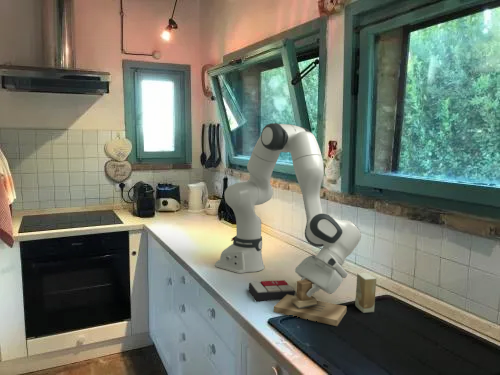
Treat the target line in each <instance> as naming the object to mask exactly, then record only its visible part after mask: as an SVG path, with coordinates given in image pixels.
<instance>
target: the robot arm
mask: <svg viewBox="0 0 500 375" xmlns="http://www.w3.org/2000/svg"><path fill="white" fill-rule="evenodd" d="M281 153H290V155H291V160H292V165H293V170H294V173H295V177H296V179H297V182H298V185H299V188H300V191H301V195H302V199H303V206H304V211H305V216H306V224H305V228H304V237H305V240H306V241H307V242H308V244H309V245H311V246H313V247H317V248H321V250H319V251H318V253H317V254H316V255H315V254H312V255H309V256H308V257H306V258H304V259H303V260H302V261H301V262H300V263H299V264H298V265H297V266H296V268H295V269H294V270H295V273H296V274H297V275H298V276H299V277H300V278H301V279H300V280H305V279H307V280H309V281H311V282H312V288H311V289H310V290H308V289H307V291H306V292H305V294H306V295H307V296H308V297H311V296H313V295H314V294H315V293H317V292H319V291H320V290H322V291H324V293H327V294H328V295H333V294H334V293H335V292H336V291H337V290H338V289H339V287H340V285H341V284H342V282H343V280H344V279H346V278H347V276H348V272H347V271H346V270H345V268H344V267H343V264H345V261H346V259H347V257H348V256H350V255H351V254H352V253H353V251H354V250H355V249H356V248H357V246H358V245H359V243H360V241H361V238H362V233H361V230H360V228H359V227H358V226H357V225H356V224H355V223H354V222H352V221H351V220H343V219H342V220H341V219H338V218H336V217H333V216H330V215H329V214H328V213H324V212H323V207H322V203H321V194H320V193H321V187H322V183H323V178H324V176H325V174H324V172H325V169H324V160H323V156H322V153H321V148H320V146H319V143H318V141H317V139H316V137H315V135H314V133H312V132H311V131H310V130H309V128H305V127H303V126H298V125H295V124H290V123H288V124H287V123H286V124H285V123H276V122H273V123H269V124H266V125H265V126H264V127H263V129H262V131H261V134H260V136H259V138H258V139H257V141H256V144H255V145H254V148H253V150H252V152H251V155H250V157H249V160H248V162H247V165H246V168H247V172H248V173H249V178H248V180H246V181H242V182H236V183H233V184H231V185H229V186H228V187H227V188H225V191H224V200H225V203H226V205H228V206H229V207H230V208H231V209H232V211H233V213H234V217H235V221H236V224H235V225H236V235H235V236H233V237H231V240H230V242H232V243H231V245H229V246H228V247H226V248H225V249H224V250H222V252H221V253H220V257H219V259H218V260H217V261H216V262H215V263H214V267H216V268H219V269H224V270H226V271H231V272H234V273H237V274H243V273H244V274H245V273H255V272H259V271H262V270H264V268H265V265H264V260H263V254H262V252H263V250H262V249H263V236H262V219H261V217H260V216H259V215H257V214H256V212H255V206H259V205H263V204H265V203H268V201H270V200H271V199H272V198H273V195H274V190H273V187H272V184H271V177H272V175H273V171H274V169H275V167H276V164H277V162H278V160H279V157H280V154H281Z"/></svg>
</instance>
